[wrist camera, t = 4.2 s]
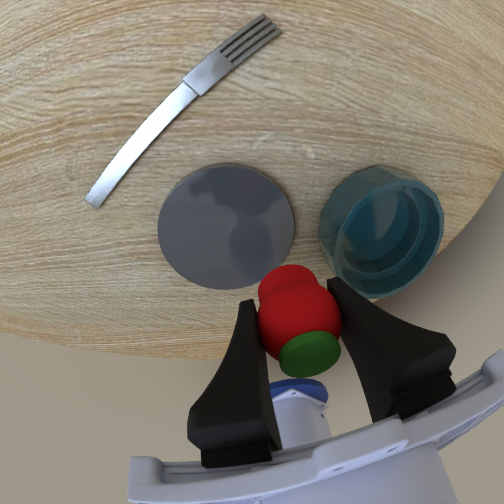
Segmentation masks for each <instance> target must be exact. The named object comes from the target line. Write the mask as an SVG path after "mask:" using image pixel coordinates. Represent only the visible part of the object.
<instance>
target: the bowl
mask: <svg viewBox="0 0 504 504" xmlns="http://www.w3.org/2000/svg"><path fill="white" fill-rule="evenodd" d="M443 228H444V212H443V210H442V207H441V205H440V202H439V199H438V197H437V195H436V194H435V193H434V192H433V191H432V190H431V189H430V188H428V187H427V186H426V185H425V184H424V183H422V182H421V181H419V180H417V179H415V178H414V177H412V176H410V175H408V174H406V173H404V172H402V171H401V170H399V169H397V168H390V167H384V166H374V167H371V168H368V169H365V170H362V171H359V172H356V173H354V174H352V175H351V176H350V177H349V178H348V179H346V180H345V181H344V182H343V183H342V184H340V185H339V186H338V187H337V188H336V189H335V190H334V192H333V194H332V195H331V197H330V199H329V200H328V202H327V204H326V206H325V207H324V209H323V211H322V213H321V220H320V226H319V232H318V238H319V242H320V246H321V250H322V254H323V257H324V258H325V260H326V262H327V263H328V265H329V267H330V268H331V270H332V272H333V273H334V275H335V277H340V278H341V279H342V280H343V281H345V282H346V283H347V284H348V285H349V286H350V287H352V288H353V289H354V290H355V291H357V292H358V293H359V294H361V295H362V296H363V297H365V298H366V299H376V298H385V297H388V296H391V295H393V294H395V293H397V292H399V291H401V290H404V289H405V288H407V287H408V286H410V285H411V284H412V283H413V282H414V281H415V280H416V279H418V278H419V277H420V276H421V275H422V274H423V273H424V272H425V270H426V269H427V267H428V266H429V265H430V263H431V262H432V260H433V259H434V257H435V256H436V254H437V251H438V248H439V245H440V243H441V240H442V237H443Z"/></svg>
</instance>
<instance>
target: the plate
mask: <svg viewBox="0 0 504 504" xmlns="http://www.w3.org/2000/svg"><path fill="white" fill-rule="evenodd" d="M294 229H295V224H294V216H293V212H292V209H291V206H290V204H289V201H288V200H287V198H286V196H285V195H284V193H283V192H282V190H281V189H280V188H279V186H278V185H277V184H276V183H275V182H274V181H273V180H272V179H271V178H269V177H268V176H267V175H265V174H264V173H262V172H260V171H258V170H256V169H254V168H251V167H248V166H245V165H240V164H232V163H222V164H214V165H209V166H206V167H203V168H200V169H197V170H195V171H193V172H191V173H190V174H188V175H187V176H185V177H184V178H183V179H182V180H180V181H179V182H178V183H177V184H176V185H175V186H174V188H173V189H172V190H171V191H170V193H169V194H168V196H167V198H166V200H165V202H164V204H163V206H162V209H161V211H160V215H159V219H158V239H159V244H160V247H161V250H162V252H163V254H164V256H165V258H166V259H167V261H168V262H169V264H170V265H171V266H172V267H173V268H174V270H175V271H177V272H178V273H179V274H180V275H181V276H183V277H184V278H186V279H187V280H189V281H191V282H193V283H195V284H197V285H200V286H203V287H207V288H211V289H218V290H230V289H238V288H243V287H246V286H250V285H252V284H255V283H257V282H259V281H261V280H262V279H263V278H264V277H265V276H266V275H267V274H268V273H269V272H271V271H272V270H274V269H275V268H278V267H279V266H280V264H281V263H282V262H283V261H284V259H285V258H286V256H287V254H288V252H289V250H290V248H291V245H292V242H293V237H294Z"/></svg>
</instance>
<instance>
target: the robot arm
mask: <svg viewBox="0 0 504 504" xmlns="http://www.w3.org/2000/svg"><path fill="white" fill-rule="evenodd" d="M327 290H328V291H329V292H330V293H331V294H332V295H333V297H334V298H335V299H336V301H337V303H338V305H339V308H340V311H341V315H342V330H341V334H340V337H341V339H342V340H343V342H344V344H345V346H346V348H347V350H348V352H349V354H350V356H351V358H352V360H353V362H354V365H355V368H356V370H357V373H358V376H359V379H360V381H361V385H362V388H363V390H364V394H365V397H366V400H367V404H368V407H369V411H370V414H371V418H372V422H373V424H370V425H368V426H365V427H362V428H359V429H356V430H353V431H350V432H347V433H344V434H341V435H338V436H335V437H332V436H331V432H330V429H329V426H328V423H327V419H326V416H325V413H324V409H326V408H328V407H329V405H328V404H327V403H325V402H322V401H320V400H318V399H316V398H314V397H311V396H309V395H307V394H305V393H303V392H301V391H299V390H297V389H295V388H290V389H288V390H286V391H284V392H282V393H281V394H279V395H277V396H275V397H273V398H272V396H271V392H270V386H269V379H268V369H267V359H266V351H265V349H264V348H263V346H262V344H261V341H260V337H259V332H258V326H257V311H256V307H255V304H254V300H253V299H249V300H245V301H241V302H240V304H239V311H238V317H237V321H236V325H235V329H234V332H233V336H232V338H231V341H230V344H229V347H228V349H227V352H226V354H225V356H224V359H223V361H222V363H221V365H220V367H219V369H218V371H217V372H216V374H215V376H214V378H213V379H212V381H211V382H210V383H209V385H208V386H207V388H206V389H205V391H204V392H203V394H202V395H201V396H200V397H199V399H198V400H197V401H196V402H195V403H194V405H193V406H192V407H191V408H190V411H189V416H188V422H187V438H188V440H189V441H190V442H191V443H193V444H194V445H195V446H196V447H198V448H199V449H200V450H201V461H189V462H162V461H161V460H159V459H157V458H155V457H148V456H131V457H130V462H129V475H128V493H127V500H128V501H130V502H133V503H136V504H459V503H458V501H457V498H456V495H455V492H454V490H453V487H452V485H451V482H450V480H449V477H448V475H447V472H446V470H445V467H444V465H443V462H442V460H441V458H440V456H439V453H438V451H439V450H441V449H443V448H444V447H446V446H447V445H449V444H450V443H452V442H454V441H455V440H457V439H458V438H460V437H461V436H463V435H464V434H466V433H467V432H468V431H470V430H471V429H473V428H474V427H476V426H477V425H478V424H480V423H481V422H482V421H484V420H485V419H486V418H488V417H489V416H490V415H491V414H493V413H494V412H495V411H496V410H498V409H499V408H500V407H501V406H503V405H504V351H503V350H502V349H500V350H499V351H497V352H496V353H494V354H493V355H491V356H490V357H489V358H488V359H486V360H485V362H484V363H483V365H482V366H481V369H479V370H478V371H476V372H475V373H473V374H472V375H470V376H468V377H467V378H465V379H463V380H462V381H460V382H458V383H457V384H454V382H453V381H452V379H451V377H450V376H451V375H452V373H451V371H450V370H449V367H450V365H451V363H452V361H453V359H454V357H455V354H456V348H455V347H454V345H453V343H452V342H451V341H450V339H449V338H448V337H447V336H446V335H445V334H443V333H439V332H434V331H430V330H427V329H424V328H421V327H418V326H415V325H412V324H410V323H408V322H405V321H403V320H401V319H399V318H397V317H394V316H393V315H391V314H389V313H387V312H385V311H384V310H382V309H380V308H379V307H377V306H376V305H374V304H373V303H372V302H370V301H369V300H367V299H366V298H365V297H363V296H362V295H361V294H359V293H358V292H357V291H355V290H354V289H353V288H352V287H350V286H349V285H348V284H347V283H346V282H345V281H343V280H342V279H341V278H340V277H334V278H331V279H327Z"/></svg>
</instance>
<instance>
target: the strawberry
mask: <svg viewBox="0 0 504 504" xmlns="http://www.w3.org/2000/svg"><path fill="white" fill-rule="evenodd" d="M258 297H259V302H260V307H259V309H258V313H257V326H258V332H259V337H260V341H261V344H262V346H263V348H264V349H265V351H266V352H267V353H268V354H270V356H271V357H273V358H274V359H276V360H277V361H279V363H280V368H281V370H282V371H283V372H284V373H285V374H286V375H288V376H291V377H296V378H305V377H311V376H314V375H318V374H320V373H322V372H324V371H326V370H327V369H329V368H330V367H332V366H333V365H334V364H335V363H336V362H337V360H338V359H339V357H340V354H341V348H340V345H339V343H338V339H339V337H340V334H341V330H342V315H341V311H340V308H339V305H338V303H337V301H336V299H335V298H334V297H333V295H332V294H331V293H330V292H329V291H328V290H327V289H325V288H324V287H322V286H321V285H319V283H318V281H317V279H316V277H315V276H314V274H313V273H312V272H311V271H310V270H309V269H307V268H306V267H303V266H300V265H292V264H291V265H284V266H280V267H278V268H275V269H274V270H272V271H271V272H269V273H268V274H267V275H266V276H265V277H264V278H263V279H262V281H261V283H260V285H259V288H258Z"/></svg>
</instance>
